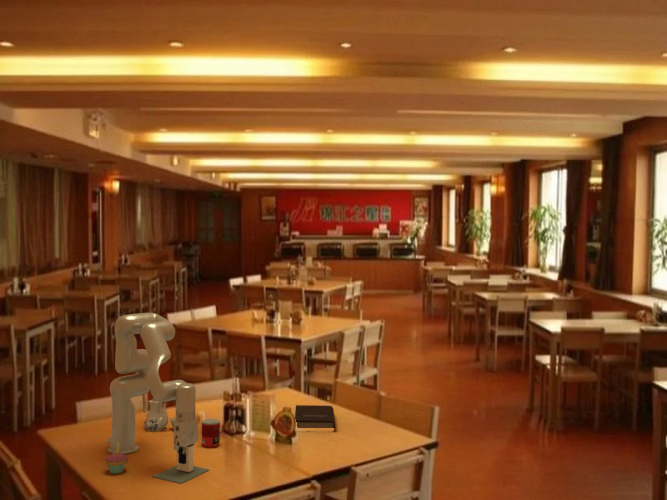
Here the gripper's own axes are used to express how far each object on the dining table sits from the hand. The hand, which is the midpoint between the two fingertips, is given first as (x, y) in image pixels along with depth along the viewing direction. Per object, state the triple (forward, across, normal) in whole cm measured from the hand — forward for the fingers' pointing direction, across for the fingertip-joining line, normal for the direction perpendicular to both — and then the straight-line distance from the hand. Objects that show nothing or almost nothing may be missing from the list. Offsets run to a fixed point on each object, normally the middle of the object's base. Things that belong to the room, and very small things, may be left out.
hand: (185, 461), depth 277 cm
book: (+5, +86, -10) cm, 87 cm away
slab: (+3, 0, 0) cm, 3 cm away
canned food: (+4, +32, +12) cm, 34 cm away
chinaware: (+4, +42, +49) cm, 65 cm away
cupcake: (+4, -13, +23) cm, 27 cm away
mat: (+4, -2, 0) cm, 5 cm away
